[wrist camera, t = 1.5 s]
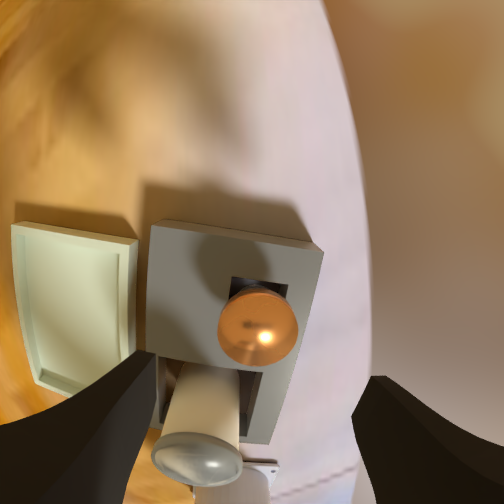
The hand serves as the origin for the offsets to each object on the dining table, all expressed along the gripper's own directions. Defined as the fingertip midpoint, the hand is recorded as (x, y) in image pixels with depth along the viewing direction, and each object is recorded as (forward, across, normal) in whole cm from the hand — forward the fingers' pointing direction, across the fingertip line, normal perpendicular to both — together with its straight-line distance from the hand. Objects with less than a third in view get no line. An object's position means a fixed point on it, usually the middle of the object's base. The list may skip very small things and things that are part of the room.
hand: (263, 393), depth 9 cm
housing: (+10, +2, +4) cm, 10 cm away
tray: (+10, +12, +5) cm, 17 cm away
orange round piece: (+8, 0, 0) cm, 8 cm away
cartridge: (+10, +2, +8) cm, 12 cm away
